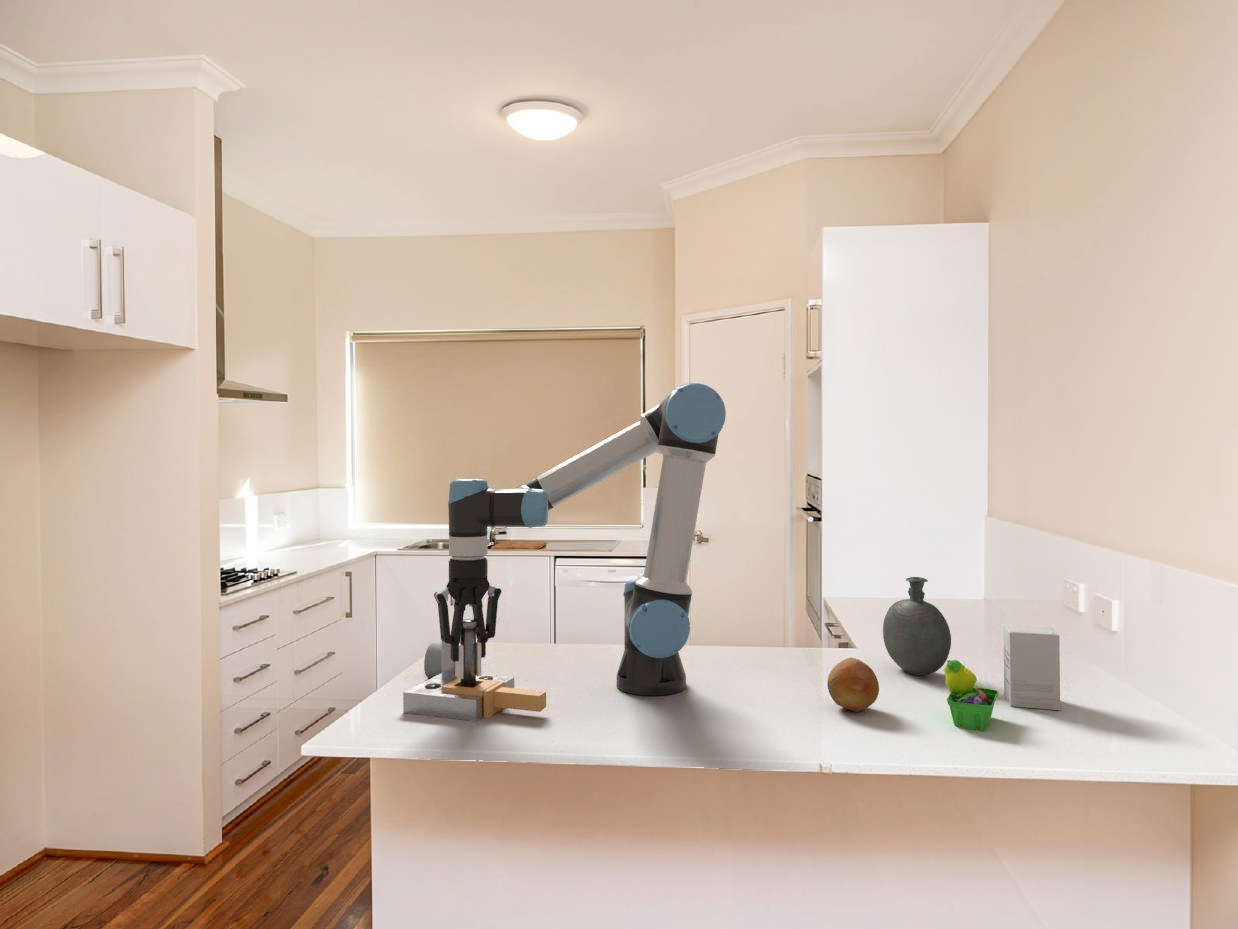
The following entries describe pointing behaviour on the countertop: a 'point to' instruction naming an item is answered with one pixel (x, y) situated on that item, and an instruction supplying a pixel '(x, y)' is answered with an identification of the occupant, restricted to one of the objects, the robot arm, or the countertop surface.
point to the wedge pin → (469, 652)
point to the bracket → (500, 696)
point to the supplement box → (1031, 666)
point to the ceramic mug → (433, 660)
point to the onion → (853, 685)
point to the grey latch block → (447, 694)
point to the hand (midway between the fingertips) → (468, 675)
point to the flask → (916, 632)
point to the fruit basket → (968, 698)
